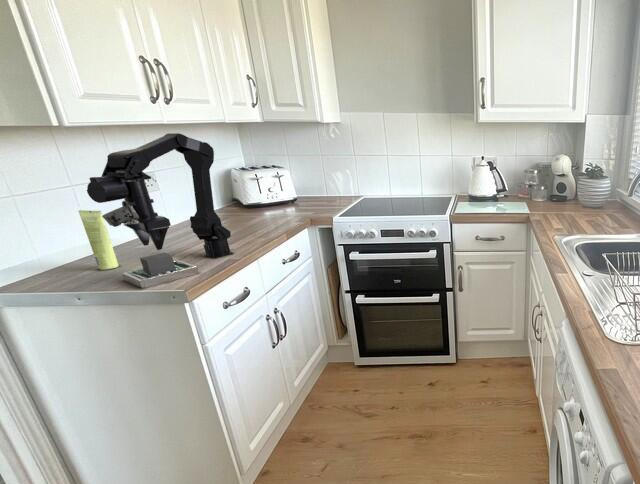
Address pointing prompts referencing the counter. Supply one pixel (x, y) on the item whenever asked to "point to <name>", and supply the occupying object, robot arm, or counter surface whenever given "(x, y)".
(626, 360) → the counter surface
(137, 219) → the robot arm
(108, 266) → the tube
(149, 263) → the dark grey block
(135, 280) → the striped rimmed tray
